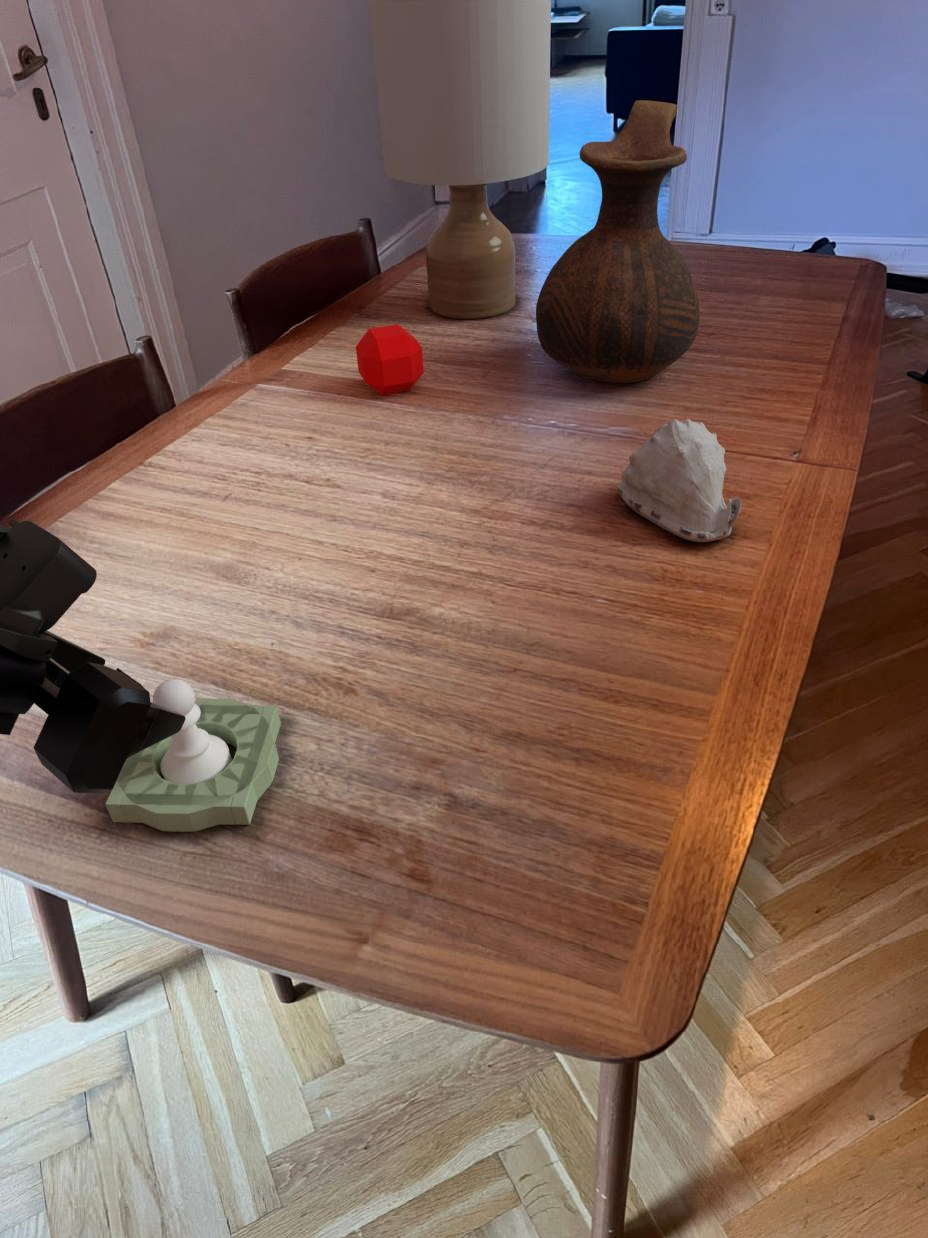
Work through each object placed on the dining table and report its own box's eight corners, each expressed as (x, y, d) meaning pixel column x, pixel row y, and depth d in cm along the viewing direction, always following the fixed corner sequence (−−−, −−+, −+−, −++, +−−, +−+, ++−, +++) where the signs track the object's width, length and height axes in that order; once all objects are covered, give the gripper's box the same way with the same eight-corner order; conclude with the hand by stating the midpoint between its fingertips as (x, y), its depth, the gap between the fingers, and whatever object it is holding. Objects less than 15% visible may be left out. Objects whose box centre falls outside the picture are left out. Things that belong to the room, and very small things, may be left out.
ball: (413, 370, 123) (408, 316, 118) (429, 393, 117) (425, 337, 112) (357, 380, 121) (350, 325, 116) (370, 404, 115) (364, 347, 110)
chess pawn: (201, 739, 69) (172, 652, 63) (247, 764, 67) (221, 676, 61) (151, 781, 66) (116, 693, 60) (197, 809, 64) (165, 720, 58)
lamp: (385, 290, 150) (355, -15, 123) (521, 272, 153) (520, -26, 127) (413, 341, 131) (385, -4, 105) (567, 320, 135) (577, -18, 109)
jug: (729, 375, 117) (768, 118, 98) (590, 413, 110) (603, 144, 91) (634, 324, 132) (651, 94, 114) (507, 354, 126) (504, 115, 107)
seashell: (711, 557, 85) (726, 465, 79) (598, 506, 93) (603, 418, 87) (779, 507, 91) (798, 418, 85) (668, 463, 99) (677, 379, 93)
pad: (99, 830, 63) (91, 812, 61) (153, 715, 71) (147, 697, 70) (257, 833, 62) (251, 815, 60) (292, 717, 71) (287, 699, 69)
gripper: (59, 575, 41) (283, 637, 54) (-114, 462, 50) (111, 538, 64) (-39, 793, 41) (207, 802, 54) (-192, 639, 51) (48, 678, 64)
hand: (140, 693), depth 59 cm, fingers open, 9 cm apart
